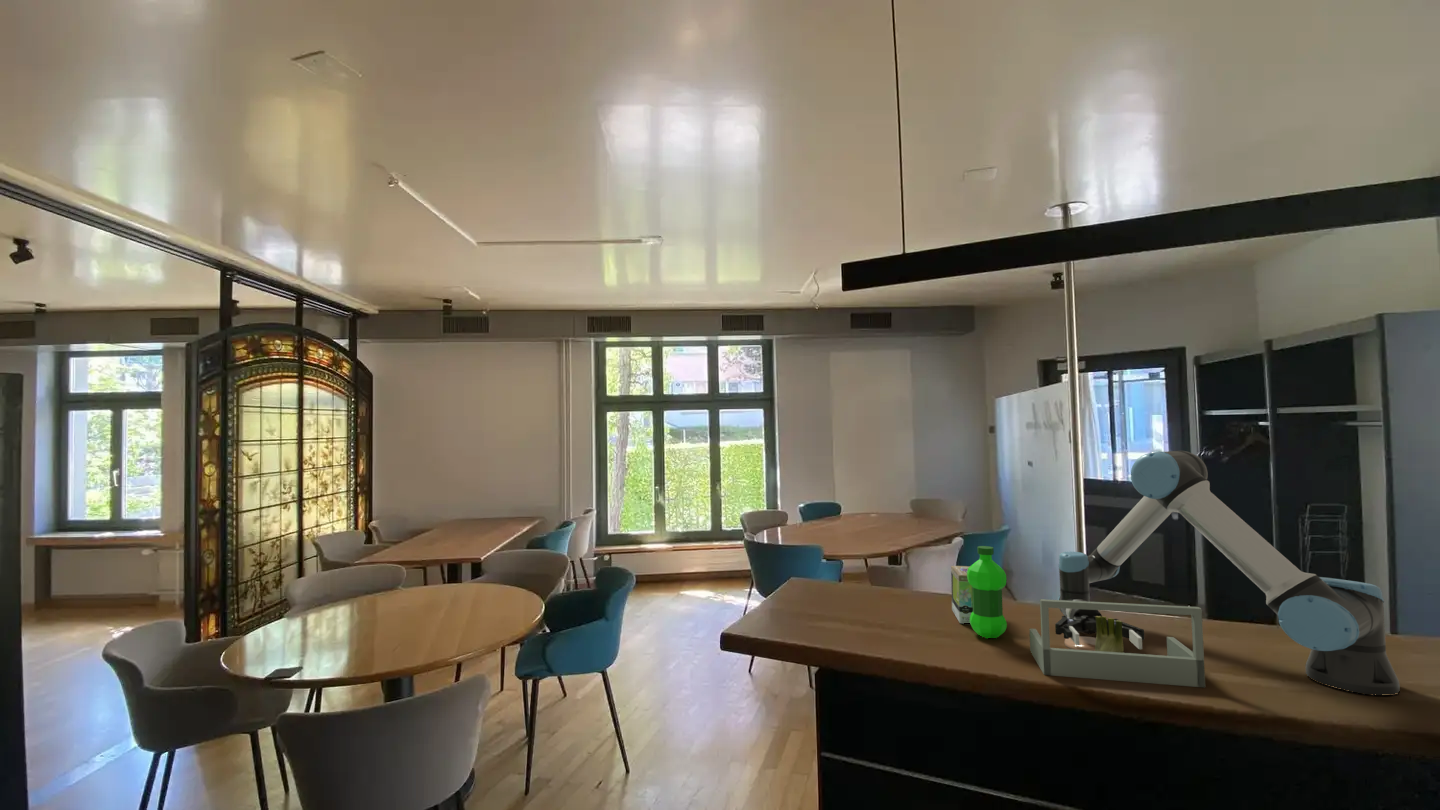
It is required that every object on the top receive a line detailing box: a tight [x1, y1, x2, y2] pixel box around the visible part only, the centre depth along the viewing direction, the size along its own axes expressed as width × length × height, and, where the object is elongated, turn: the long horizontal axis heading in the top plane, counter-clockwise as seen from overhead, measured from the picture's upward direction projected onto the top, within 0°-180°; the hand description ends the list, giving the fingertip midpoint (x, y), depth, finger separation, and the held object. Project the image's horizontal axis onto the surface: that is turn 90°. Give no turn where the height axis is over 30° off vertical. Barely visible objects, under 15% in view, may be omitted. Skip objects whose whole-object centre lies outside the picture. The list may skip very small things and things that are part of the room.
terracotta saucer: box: [1064, 635, 1096, 651], centre depth 170 cm, size 13×13×1 cm
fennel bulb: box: [1095, 616, 1125, 653], centre depth 157 cm, size 6×5×12 cm
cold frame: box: [1029, 598, 1206, 688], centre depth 155 cm, size 16×33×18 cm, turn 74°
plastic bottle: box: [967, 545, 1008, 639], centre depth 181 cm, size 10×10×25 cm
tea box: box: [950, 565, 973, 624], centre depth 198 cm, size 15×10×15 cm, turn 168°
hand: (1108, 641), depth 155 cm, fingers open, 13 cm apart
